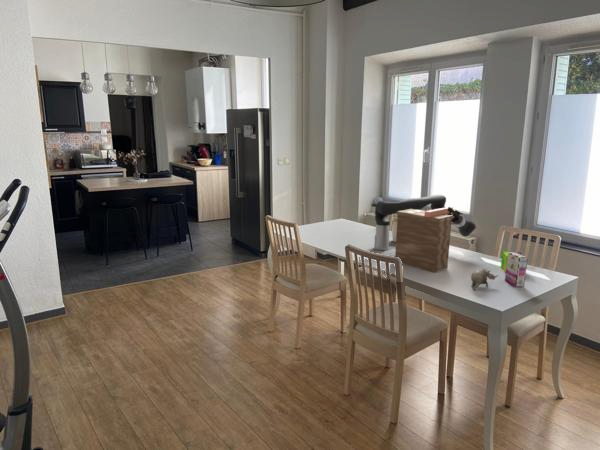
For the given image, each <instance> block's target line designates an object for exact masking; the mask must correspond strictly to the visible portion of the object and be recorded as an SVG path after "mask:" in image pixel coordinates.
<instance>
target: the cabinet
mask: <svg viewBox="0 0 600 450" xmlns="http://www.w3.org/2000/svg"><path fill="white" fill-rule="evenodd" d="M425 211H426V210H422V209H421V210H415V209H408V210H402V211H397V213H396V215H397V235H396V242H395V255H394V258H395V257H399V258H400V259H401V261H402V263H403V264H402V265H405V266H409V267H411V268H412V267H413V268H417V269H420V270H423V271H428V272H432V273H437V272H441V271H443V270H446V269H448V265H449V256H450V255H449V253H450V242H451V233H452V232H451V231H452V230H451V229H452V222H451V221H452V219H453V216H452V215H446V214H442V215H437V216H433V217H424V215H425Z"/></svg>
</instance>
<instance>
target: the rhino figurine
mask: <svg viewBox="0 0 600 450" xmlns="http://www.w3.org/2000/svg"><path fill="white" fill-rule="evenodd" d="M490 272H491V271H490V270H488V269H487V268H486V269H485V268H482V269H478V270H476V271H473V272H472V273H471V275H470V276H471V277H470V278H471V282H472V284H471V288H472V290H473V291H475V292H477V291H478V290H477V288H478V287H480V285H485V287H487V288H488V286H489V283H488V279H489V280H493V281H494V280H495V279H496V278H497V277H498V276H499V275H498V274H496V275H494V274H493V273H490Z"/></svg>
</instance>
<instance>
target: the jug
mask: <svg viewBox="0 0 600 450" xmlns="http://www.w3.org/2000/svg"><path fill="white" fill-rule="evenodd" d="M397 219H398V216H397V217H393V218H392V221H393V223H392V225H391V229H390V230H391V237H392V242H393V243H396V235H397Z"/></svg>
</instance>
